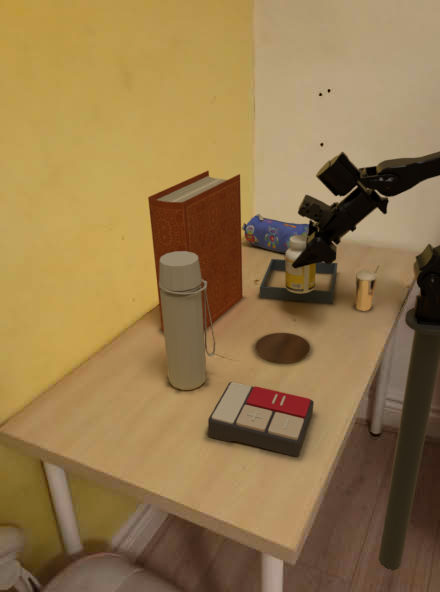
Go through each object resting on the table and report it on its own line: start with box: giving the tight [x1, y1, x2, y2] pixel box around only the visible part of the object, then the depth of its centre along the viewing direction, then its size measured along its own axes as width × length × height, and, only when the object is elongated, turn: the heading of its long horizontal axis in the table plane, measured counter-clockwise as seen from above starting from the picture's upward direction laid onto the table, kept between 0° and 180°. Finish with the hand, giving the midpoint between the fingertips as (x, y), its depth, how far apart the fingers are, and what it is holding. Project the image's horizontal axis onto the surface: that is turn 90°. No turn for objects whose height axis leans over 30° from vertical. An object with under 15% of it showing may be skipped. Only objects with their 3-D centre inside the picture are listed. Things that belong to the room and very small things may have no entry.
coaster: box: [255, 332, 311, 365], centre depth 110 cm, size 11×11×1 cm
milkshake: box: [355, 265, 380, 312], centre depth 122 cm, size 4×5×10 cm
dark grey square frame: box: [259, 258, 338, 305], centre depth 135 cm, size 17×17×3 cm
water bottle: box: [159, 251, 216, 391], centre depth 96 cm, size 9×8×25 cm
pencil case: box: [241, 213, 309, 254], centre depth 154 cm, size 22×9×10 cm, turn 53°
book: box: [147, 170, 243, 333], centre depth 117 cm, size 23×8×30 cm, turn 149°
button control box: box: [207, 381, 315, 458], centre depth 89 cm, size 11×4×15 cm
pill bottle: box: [284, 235, 316, 293], centre depth 116 cm, size 6×6×12 cm
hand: (294, 260), depth 116 cm, fingers closed on pill bottle, 6 cm apart
